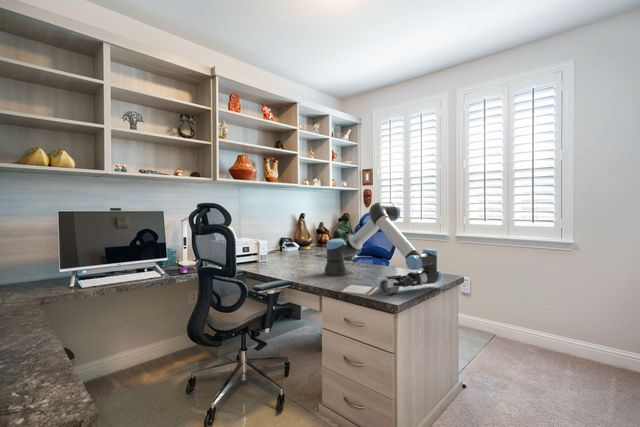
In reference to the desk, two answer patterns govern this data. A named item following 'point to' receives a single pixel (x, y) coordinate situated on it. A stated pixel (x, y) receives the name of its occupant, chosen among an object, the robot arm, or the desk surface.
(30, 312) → the desk surface
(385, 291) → the ceramic mug
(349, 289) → the pad
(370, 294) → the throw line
